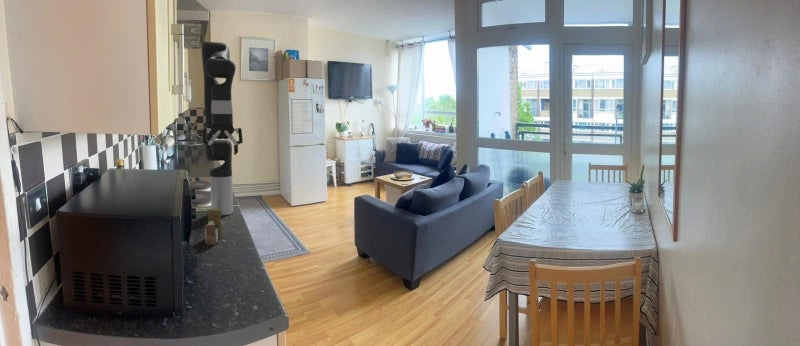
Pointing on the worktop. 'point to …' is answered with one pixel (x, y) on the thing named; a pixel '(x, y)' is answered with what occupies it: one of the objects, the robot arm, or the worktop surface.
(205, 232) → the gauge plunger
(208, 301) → the worktop surface
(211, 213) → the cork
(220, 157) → the robot arm
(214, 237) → the beige upright block
